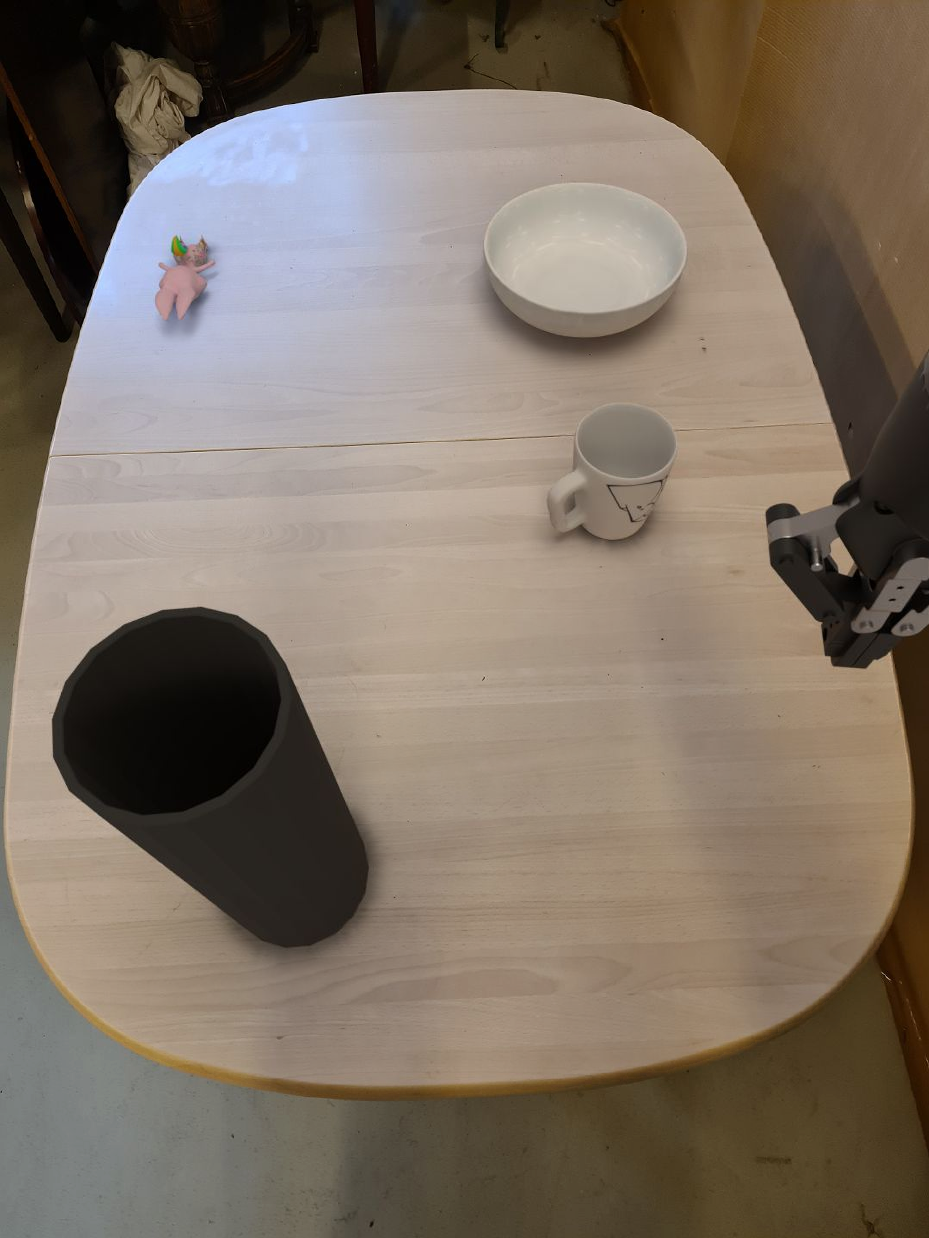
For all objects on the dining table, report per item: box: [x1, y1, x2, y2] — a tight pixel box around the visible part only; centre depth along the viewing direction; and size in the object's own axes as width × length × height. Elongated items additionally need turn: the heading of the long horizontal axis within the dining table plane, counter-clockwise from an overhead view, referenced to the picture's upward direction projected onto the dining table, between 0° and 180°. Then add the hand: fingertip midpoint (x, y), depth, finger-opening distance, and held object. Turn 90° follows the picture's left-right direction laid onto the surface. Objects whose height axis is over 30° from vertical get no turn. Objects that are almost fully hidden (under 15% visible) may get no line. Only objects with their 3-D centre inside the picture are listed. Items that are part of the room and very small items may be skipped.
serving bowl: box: [482, 181, 688, 338], centre depth 90 cm, size 21×21×7 cm
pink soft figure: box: [154, 234, 216, 322], centre depth 92 cm, size 6×6×15 cm
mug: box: [546, 401, 679, 541], centre depth 74 cm, size 11×8×10 cm
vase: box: [51, 606, 370, 948], centre depth 50 cm, size 10×10×30 cm
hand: (845, 650), depth 41 cm, fingers closed
